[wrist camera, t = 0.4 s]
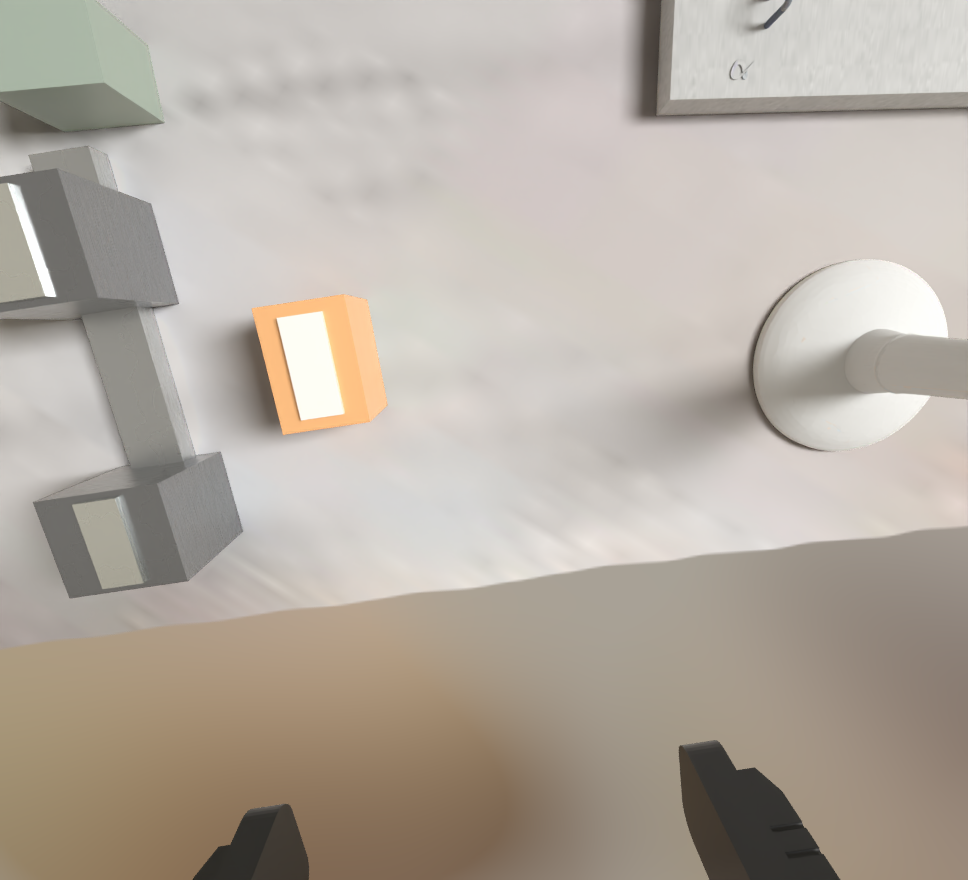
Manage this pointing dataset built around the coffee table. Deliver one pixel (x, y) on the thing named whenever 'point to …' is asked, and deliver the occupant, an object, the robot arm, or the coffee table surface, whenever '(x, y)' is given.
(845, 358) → the candlestick
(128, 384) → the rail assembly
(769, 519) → the coffee table surface
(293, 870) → the robot arm
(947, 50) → the mounting panel
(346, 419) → the orange module
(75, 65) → the green block
